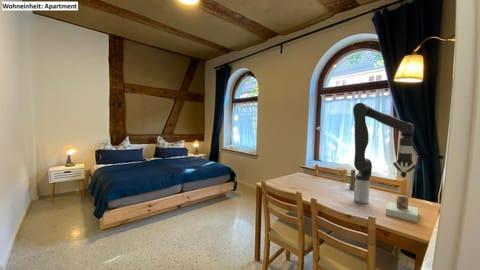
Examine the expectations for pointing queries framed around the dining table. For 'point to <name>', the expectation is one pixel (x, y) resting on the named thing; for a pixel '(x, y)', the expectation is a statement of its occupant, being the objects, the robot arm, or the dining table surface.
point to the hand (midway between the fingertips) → (403, 177)
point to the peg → (402, 202)
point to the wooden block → (352, 180)
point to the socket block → (402, 212)
